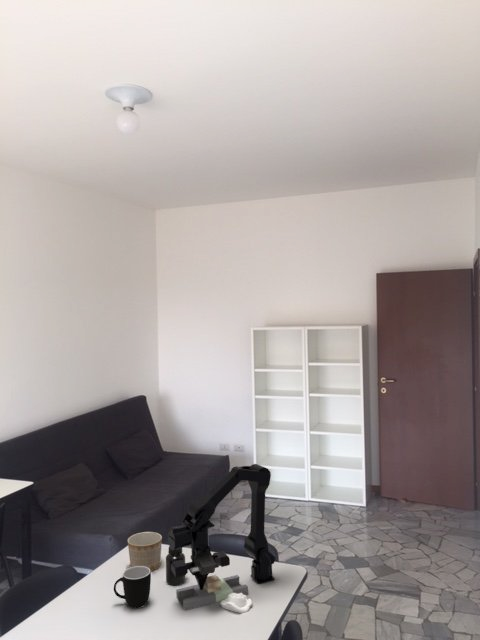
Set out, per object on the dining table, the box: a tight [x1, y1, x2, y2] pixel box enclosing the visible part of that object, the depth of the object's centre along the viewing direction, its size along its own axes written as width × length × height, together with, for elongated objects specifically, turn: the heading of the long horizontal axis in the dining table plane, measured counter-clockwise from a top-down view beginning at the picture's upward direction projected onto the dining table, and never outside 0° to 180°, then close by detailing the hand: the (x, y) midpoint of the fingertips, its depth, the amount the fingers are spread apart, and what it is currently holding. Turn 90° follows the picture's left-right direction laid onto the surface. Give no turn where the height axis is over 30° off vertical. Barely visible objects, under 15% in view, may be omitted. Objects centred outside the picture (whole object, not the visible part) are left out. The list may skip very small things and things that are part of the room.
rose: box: [220, 593, 253, 614], centre depth 169 cm, size 10×4×10 cm
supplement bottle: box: [165, 545, 186, 586], centre depth 186 cm, size 7×7×12 cm
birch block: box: [204, 574, 221, 593], centre depth 176 cm, size 4×4×3 cm
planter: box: [127, 531, 163, 572], centre depth 198 cm, size 13×13×10 cm
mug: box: [113, 566, 152, 609], centre depth 172 cm, size 12×9×10 cm
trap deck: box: [175, 574, 249, 611], centre depth 176 cm, size 22×9×2 cm, turn 114°
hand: (201, 589), depth 174 cm, fingers closed
